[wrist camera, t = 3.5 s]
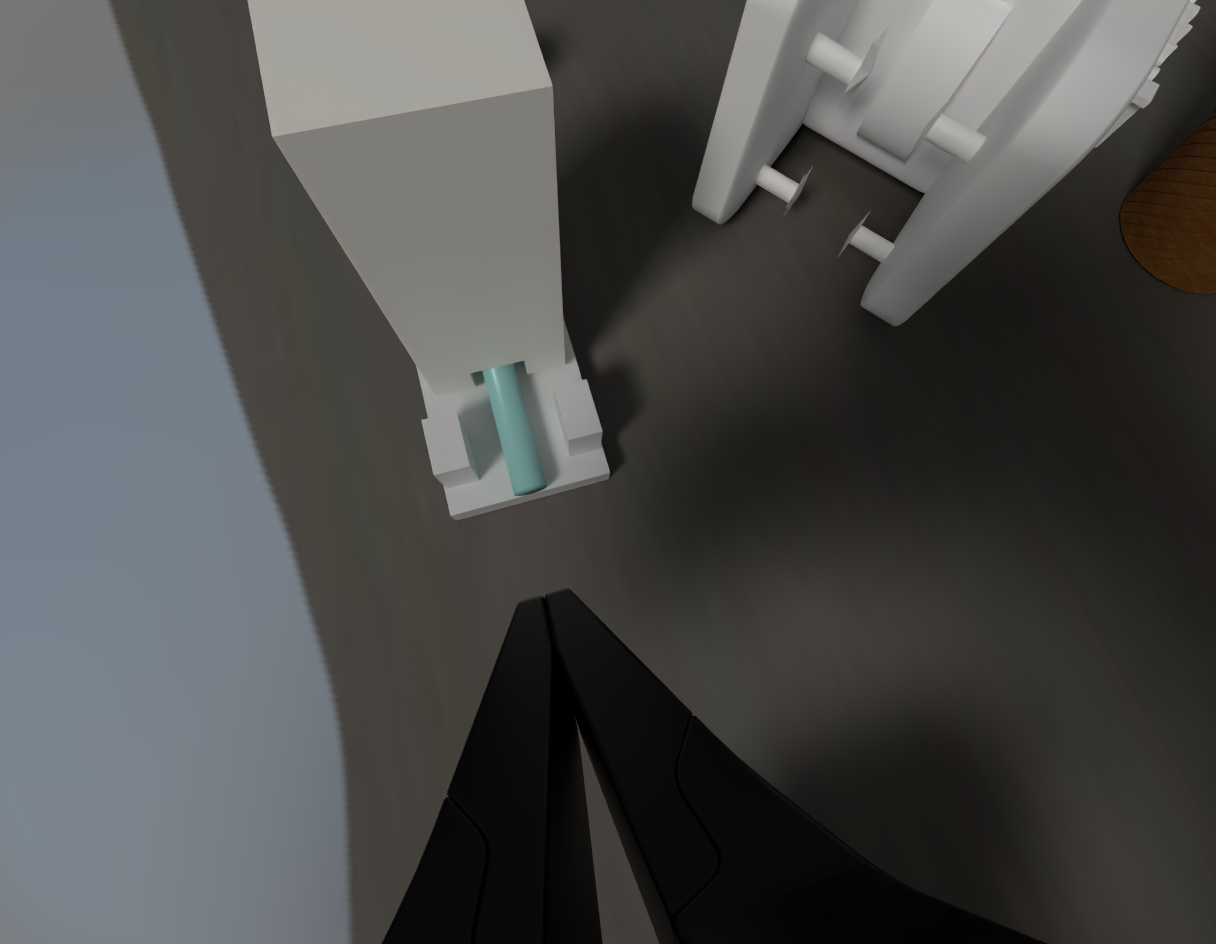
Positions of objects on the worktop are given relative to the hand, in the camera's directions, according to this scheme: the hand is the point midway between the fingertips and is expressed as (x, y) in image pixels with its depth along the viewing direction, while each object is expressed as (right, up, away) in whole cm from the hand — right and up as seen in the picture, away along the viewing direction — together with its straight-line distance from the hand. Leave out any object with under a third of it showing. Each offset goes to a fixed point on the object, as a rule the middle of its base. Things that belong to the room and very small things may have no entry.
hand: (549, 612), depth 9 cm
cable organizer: (+13, +16, +17) cm, 27 cm away
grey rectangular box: (-4, +8, +13) cm, 16 cm away
